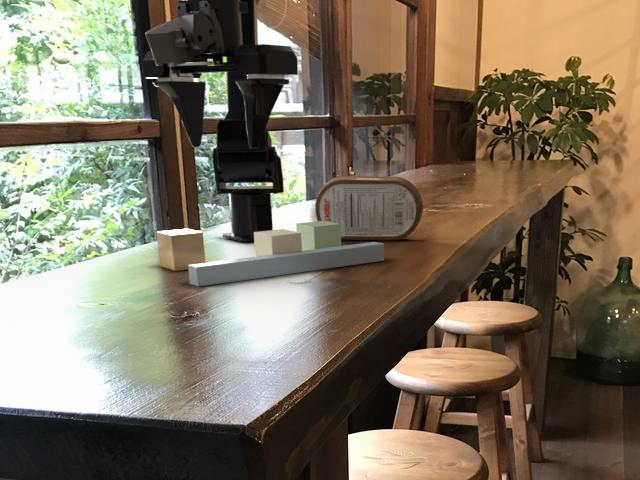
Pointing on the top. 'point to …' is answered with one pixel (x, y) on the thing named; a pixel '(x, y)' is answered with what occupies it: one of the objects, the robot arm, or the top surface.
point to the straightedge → (284, 263)
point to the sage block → (319, 234)
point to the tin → (370, 207)
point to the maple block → (180, 248)
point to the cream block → (277, 242)
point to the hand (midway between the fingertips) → (224, 147)
